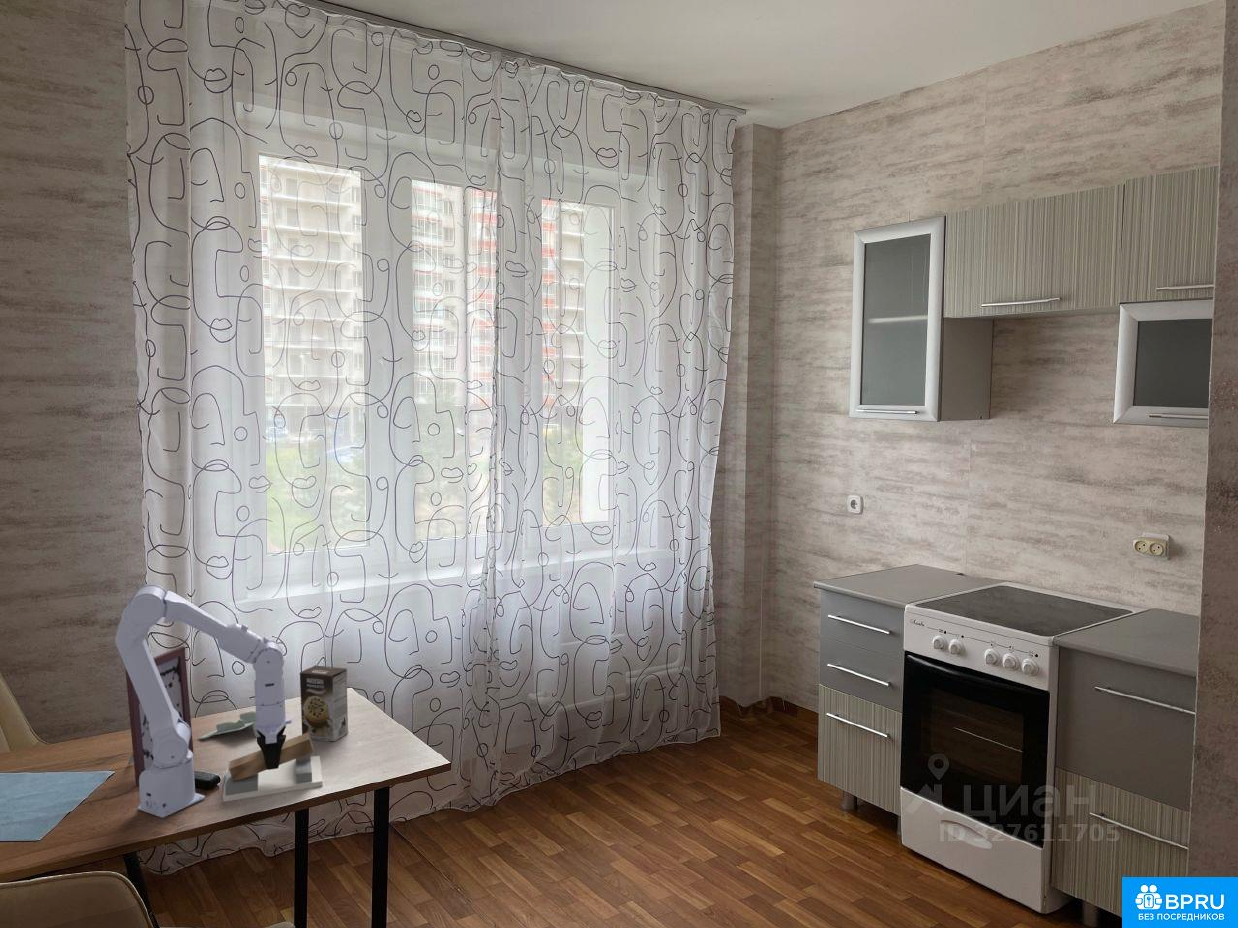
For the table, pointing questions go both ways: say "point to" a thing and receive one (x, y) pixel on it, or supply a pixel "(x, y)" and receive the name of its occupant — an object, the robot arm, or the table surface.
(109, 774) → the table surface
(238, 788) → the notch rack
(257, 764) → the walnut bar
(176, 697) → the picture frame
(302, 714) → the coffee box
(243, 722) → the metal bracket
